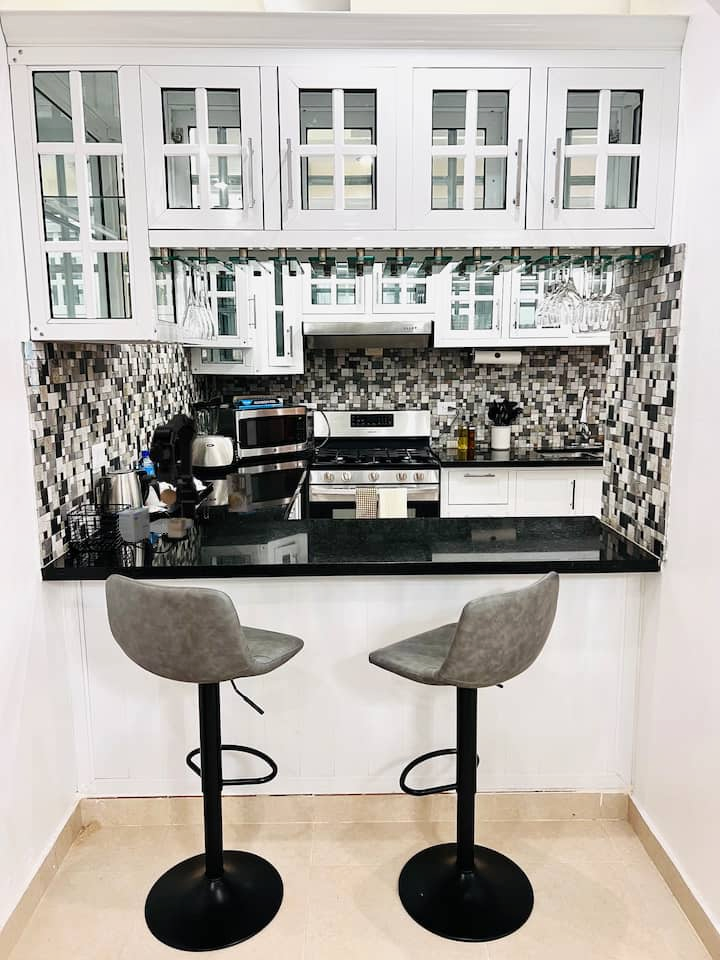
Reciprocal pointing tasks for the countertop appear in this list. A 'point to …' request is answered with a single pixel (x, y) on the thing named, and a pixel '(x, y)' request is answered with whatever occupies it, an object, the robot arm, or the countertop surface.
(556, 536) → the countertop surface
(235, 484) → the coffee box
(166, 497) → the ball
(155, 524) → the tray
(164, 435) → the robot arm
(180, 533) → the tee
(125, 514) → the light bulb box
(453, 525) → the countertop surface
